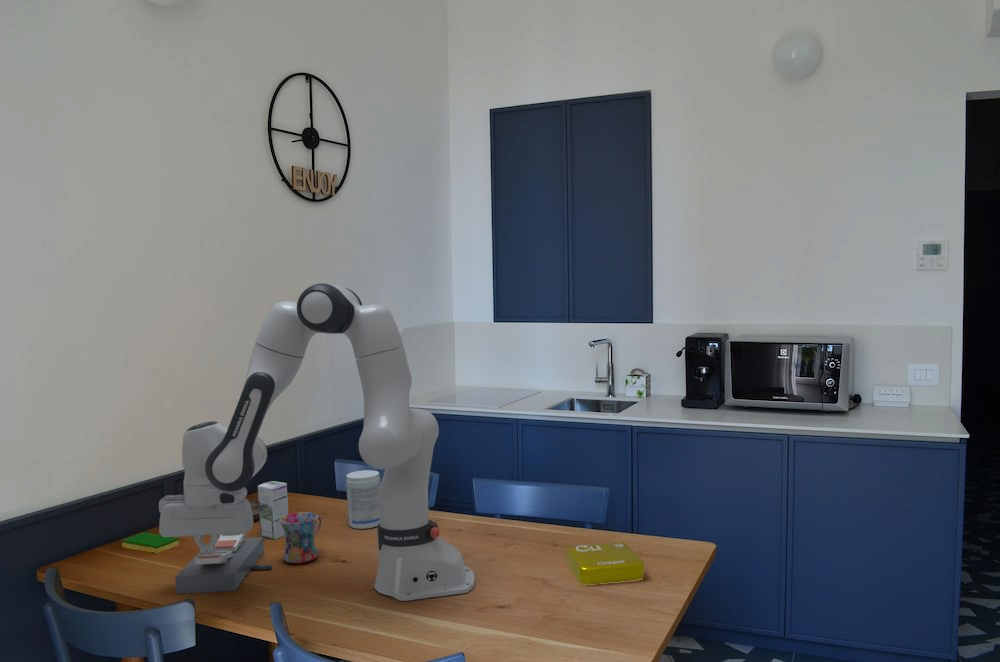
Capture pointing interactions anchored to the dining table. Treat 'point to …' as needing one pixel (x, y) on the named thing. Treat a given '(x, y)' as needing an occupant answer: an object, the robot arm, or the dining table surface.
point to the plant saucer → (255, 509)
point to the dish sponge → (150, 542)
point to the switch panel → (222, 570)
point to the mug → (300, 536)
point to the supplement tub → (363, 499)
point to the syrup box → (272, 508)
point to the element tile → (604, 563)
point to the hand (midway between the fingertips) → (208, 553)
